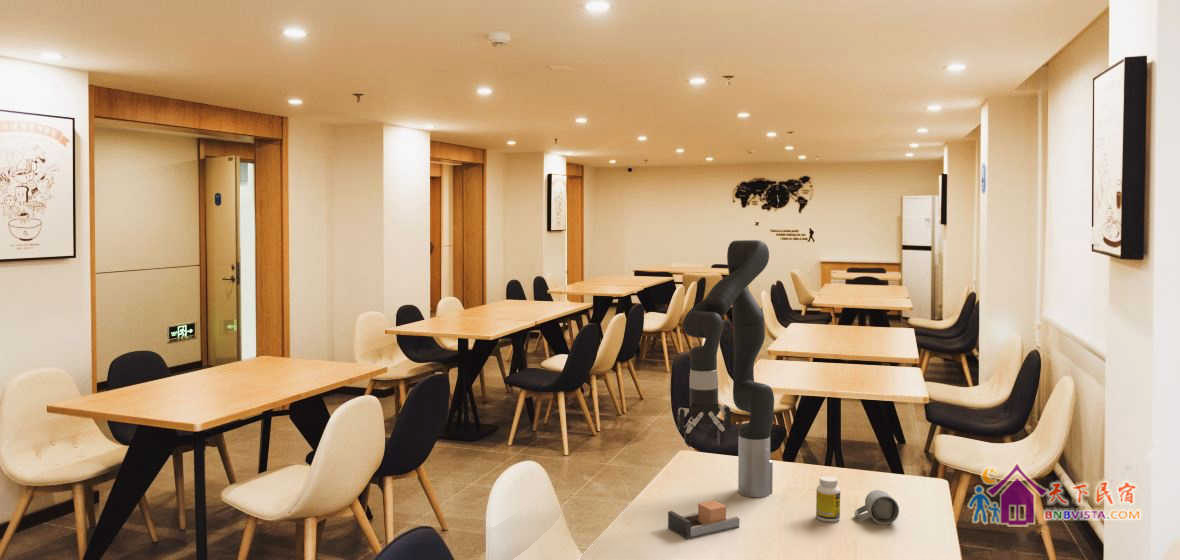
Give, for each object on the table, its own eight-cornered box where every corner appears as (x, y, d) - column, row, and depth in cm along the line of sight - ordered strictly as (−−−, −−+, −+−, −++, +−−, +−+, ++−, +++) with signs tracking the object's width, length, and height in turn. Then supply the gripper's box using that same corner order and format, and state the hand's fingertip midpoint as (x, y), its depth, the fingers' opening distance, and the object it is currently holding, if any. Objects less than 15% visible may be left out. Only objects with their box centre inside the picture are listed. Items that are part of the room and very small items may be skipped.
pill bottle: (840, 523, 211) (840, 483, 210) (815, 521, 213) (816, 481, 212) (839, 515, 217) (840, 476, 216) (816, 513, 219) (816, 474, 218)
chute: (719, 516, 217) (719, 500, 216) (739, 527, 209) (739, 510, 209) (668, 528, 209) (668, 511, 208) (686, 539, 201) (686, 522, 201)
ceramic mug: (890, 514, 218) (890, 486, 217) (899, 525, 210) (899, 496, 209) (851, 513, 219) (850, 486, 218) (858, 524, 211) (858, 496, 210)
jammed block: (713, 518, 214) (713, 500, 213) (725, 525, 209) (726, 506, 209) (698, 521, 211) (698, 503, 211) (710, 528, 207) (710, 509, 206)
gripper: (725, 381, 216) (726, 439, 218) (674, 384, 215) (675, 442, 216) (733, 387, 209) (734, 447, 210) (680, 390, 207) (681, 450, 208)
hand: (704, 445), depth 213 cm, fingers open, 8 cm apart
